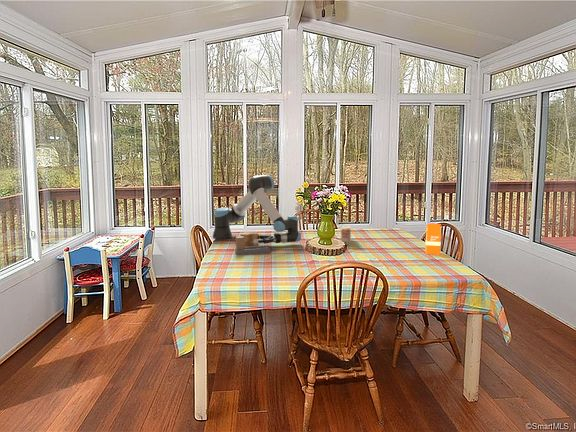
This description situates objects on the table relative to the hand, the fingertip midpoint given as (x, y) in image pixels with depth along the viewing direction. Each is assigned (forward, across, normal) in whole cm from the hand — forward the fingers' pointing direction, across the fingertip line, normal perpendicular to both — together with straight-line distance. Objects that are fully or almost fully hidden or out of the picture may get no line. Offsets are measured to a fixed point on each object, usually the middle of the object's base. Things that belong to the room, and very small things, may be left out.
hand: (251, 239), depth 322 cm
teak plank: (+1, +1, -6) cm, 6 cm away
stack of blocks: (-71, -5, -6) cm, 71 cm away
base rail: (+3, -15, -6) cm, 16 cm away
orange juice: (-112, -54, -6) cm, 125 cm away
